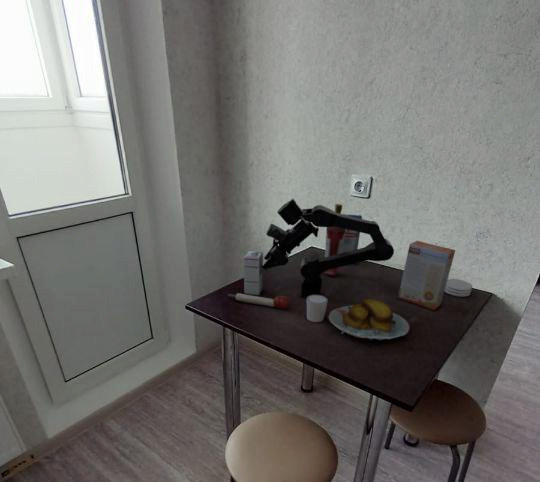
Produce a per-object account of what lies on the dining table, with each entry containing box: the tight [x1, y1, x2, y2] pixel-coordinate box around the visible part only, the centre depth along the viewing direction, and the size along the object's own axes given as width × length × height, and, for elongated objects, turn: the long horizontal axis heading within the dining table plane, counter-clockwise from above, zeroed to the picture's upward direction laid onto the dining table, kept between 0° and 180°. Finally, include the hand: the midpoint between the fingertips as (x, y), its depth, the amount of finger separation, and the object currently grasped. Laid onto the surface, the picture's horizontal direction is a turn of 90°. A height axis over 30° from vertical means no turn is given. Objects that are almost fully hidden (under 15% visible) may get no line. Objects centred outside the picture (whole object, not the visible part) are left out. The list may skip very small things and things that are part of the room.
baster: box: [228, 292, 291, 310], centre depth 140 cm, size 22×4×4 cm, turn 73°
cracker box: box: [397, 240, 456, 311], centre depth 142 cm, size 14×6×21 cm, turn 47°
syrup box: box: [243, 250, 264, 296], centre depth 146 cm, size 6×6×14 cm
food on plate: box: [327, 298, 411, 341], centre depth 128 cm, size 25×25×7 cm
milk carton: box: [341, 213, 363, 266], centre depth 175 cm, size 10×6×20 cm, turn 81°
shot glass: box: [306, 294, 329, 323], centre depth 132 cm, size 7×7×7 cm
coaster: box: [444, 278, 473, 298], centre depth 155 cm, size 10×10×4 cm
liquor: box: [323, 203, 345, 277], centre depth 160 cm, size 7×7×28 cm
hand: (263, 263), depth 144 cm, fingers open, 9 cm apart
